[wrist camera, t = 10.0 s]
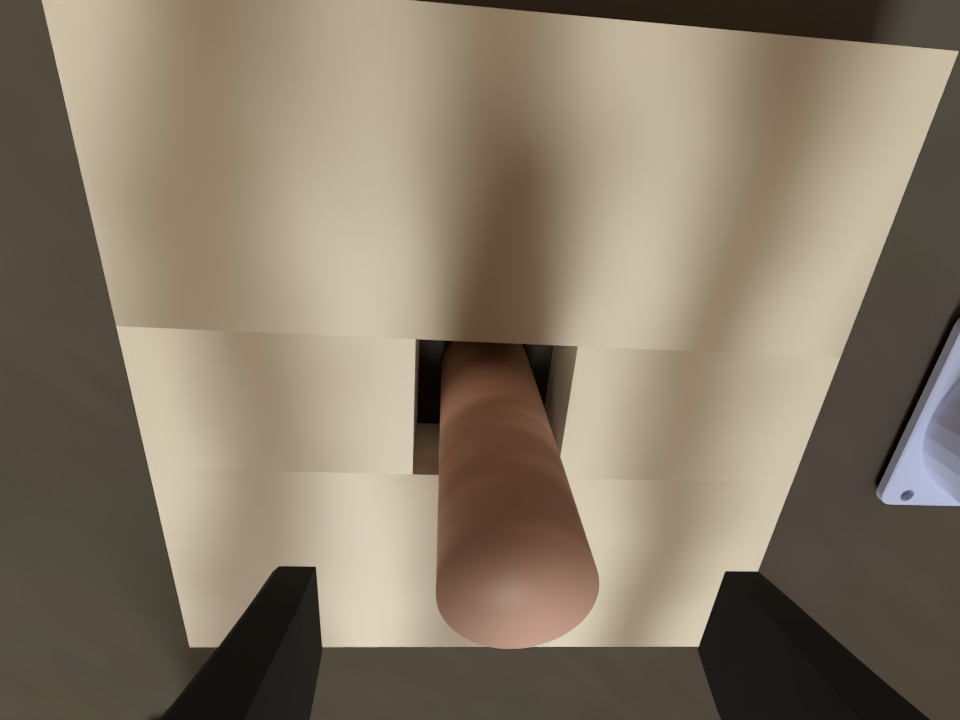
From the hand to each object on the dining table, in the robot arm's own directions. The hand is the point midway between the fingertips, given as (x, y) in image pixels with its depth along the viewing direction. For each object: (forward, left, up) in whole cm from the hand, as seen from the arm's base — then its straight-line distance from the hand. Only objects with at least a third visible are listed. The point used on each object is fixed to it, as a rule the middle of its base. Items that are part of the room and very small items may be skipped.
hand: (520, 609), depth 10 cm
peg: (0, 0, -10) cm, 10 cm away
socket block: (0, 0, -10) cm, 10 cm away
